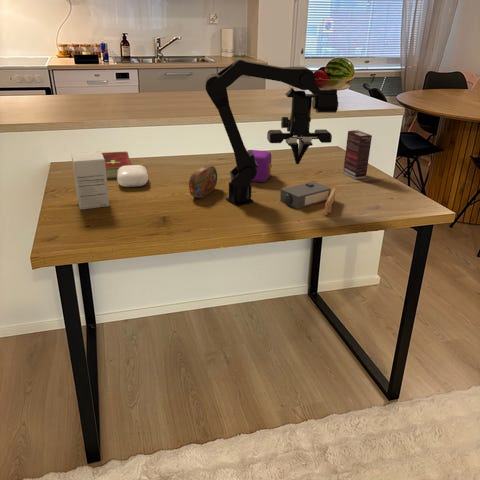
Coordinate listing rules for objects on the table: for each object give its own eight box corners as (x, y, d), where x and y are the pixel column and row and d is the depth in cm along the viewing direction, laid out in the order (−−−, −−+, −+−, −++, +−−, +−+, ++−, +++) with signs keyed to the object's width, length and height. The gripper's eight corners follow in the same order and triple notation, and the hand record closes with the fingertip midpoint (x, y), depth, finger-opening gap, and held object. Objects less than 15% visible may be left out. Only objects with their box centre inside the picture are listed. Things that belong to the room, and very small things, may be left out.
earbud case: (117, 190, 158) (116, 174, 156) (118, 177, 170) (116, 163, 167) (148, 188, 160) (147, 173, 158) (147, 176, 172) (146, 161, 169)
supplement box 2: (366, 178, 174) (372, 135, 167) (355, 179, 173) (361, 136, 166) (353, 171, 181) (358, 129, 174) (342, 172, 180) (347, 130, 173)
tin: (196, 201, 150) (195, 176, 146) (187, 200, 151) (186, 174, 148) (218, 187, 162) (218, 163, 159) (209, 186, 164) (209, 162, 160)
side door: (330, 215, 142) (331, 204, 140) (324, 214, 142) (325, 203, 140) (337, 199, 153) (338, 189, 152) (331, 198, 154) (333, 188, 152)
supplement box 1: (77, 199, 150) (70, 152, 143) (106, 196, 153) (101, 150, 146) (79, 210, 142) (72, 161, 135) (110, 206, 145) (105, 158, 138)
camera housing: (294, 209, 146) (296, 195, 144) (277, 201, 152) (278, 188, 150) (329, 200, 154) (331, 186, 152) (312, 192, 160) (313, 179, 158)
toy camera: (271, 172, 179) (273, 145, 174) (270, 184, 167) (271, 156, 162) (243, 170, 180) (243, 144, 175) (239, 182, 167) (240, 154, 163)
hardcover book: (128, 161, 189) (128, 150, 187) (132, 177, 171) (131, 166, 169) (97, 162, 186) (96, 152, 184) (97, 179, 168) (96, 168, 166)
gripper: (324, 107, 149) (319, 156, 156) (265, 107, 147) (263, 156, 154) (334, 114, 139) (329, 166, 146) (271, 114, 137) (269, 167, 144)
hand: (297, 163), depth 147 cm, fingers closed
